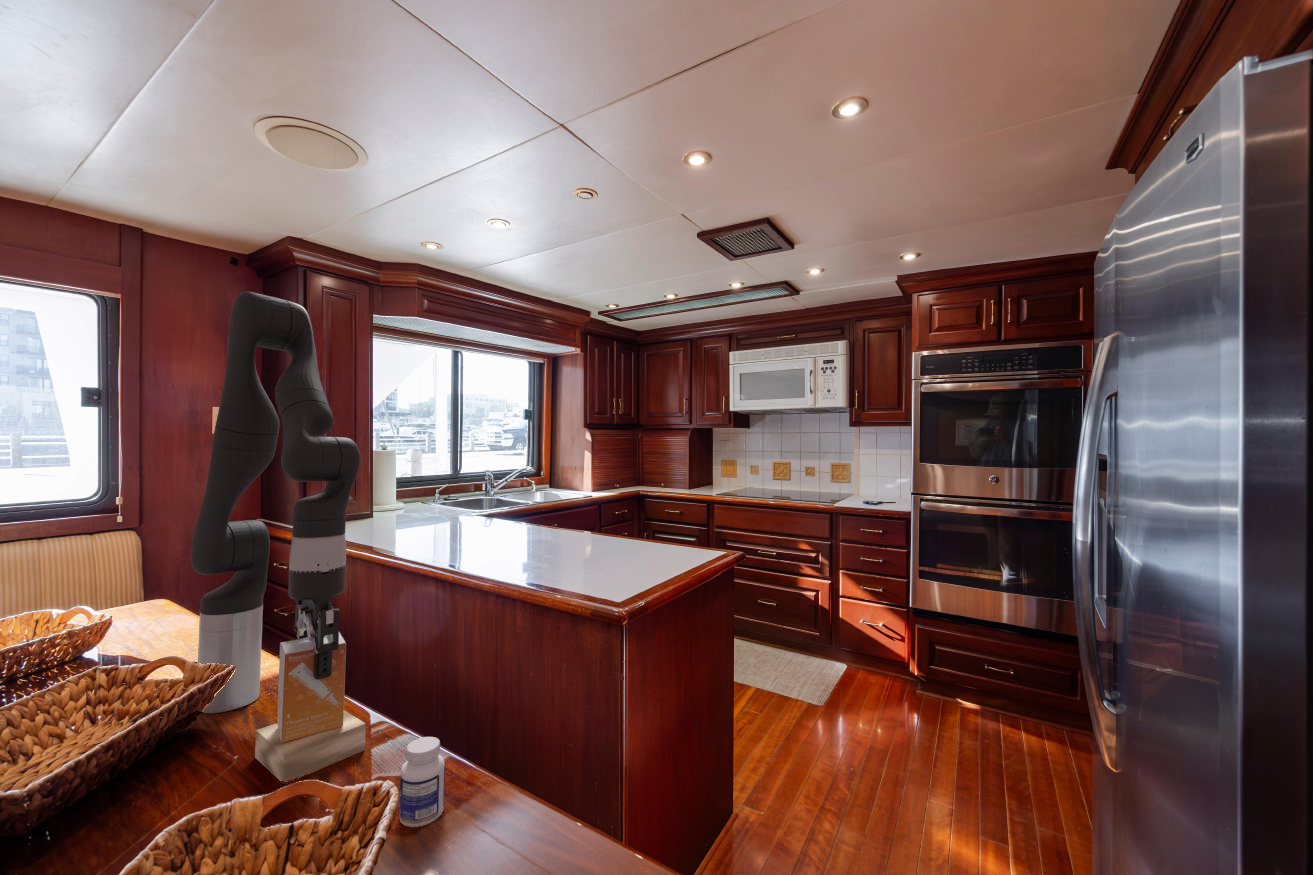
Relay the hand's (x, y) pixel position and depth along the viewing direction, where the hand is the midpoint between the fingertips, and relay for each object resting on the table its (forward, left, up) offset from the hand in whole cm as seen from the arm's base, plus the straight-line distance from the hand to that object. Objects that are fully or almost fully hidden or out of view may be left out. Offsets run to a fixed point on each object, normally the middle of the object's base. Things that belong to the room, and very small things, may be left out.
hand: (314, 669), depth 83 cm
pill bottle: (+26, +6, -13) cm, 30 cm away
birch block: (0, 0, -13) cm, 13 cm away
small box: (0, 0, -9) cm, 9 cm away
